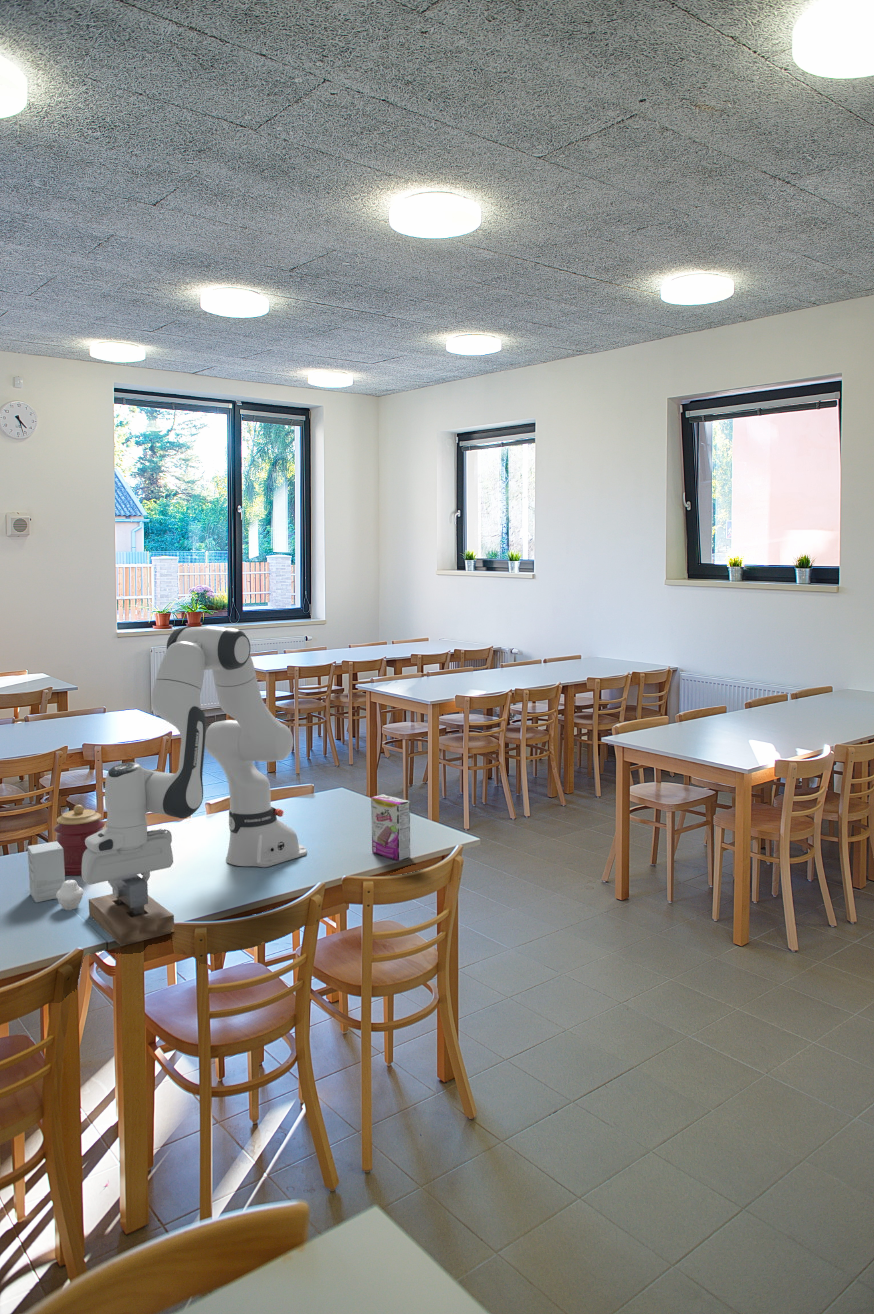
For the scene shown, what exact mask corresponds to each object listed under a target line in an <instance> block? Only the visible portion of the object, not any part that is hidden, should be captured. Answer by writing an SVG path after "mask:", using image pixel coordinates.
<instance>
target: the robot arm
mask: <svg viewBox="0 0 874 1314" xmlns="http://www.w3.org/2000/svg"><path fill="white" fill-rule="evenodd" d="M158 667H159V668H158V670H157V673H156V677H155V680H154V684H153V688H152V692H151V705H152V707H153V710H154V711H155V712H156V714H158V716H159V717H161V719H162V720H164V721H166V722H167V723H169V724H170V725H172V726H173V727H175V729H177V731H178V733H179V736H180V749H179V761H178V769H177V771H176V772H175V773H174V772H173V773H172V772H171V773H170V772H163V771H157V770H151V769H149V768H148V769H147V768H144V767H142V765H141V764H139V763H138V762H124V763H119V764H116V765H114V766H112V767H111V768H110V769H108V771H107V774H106V777H105V783H104V806H105V809H106V813H107V815H106V816H107V817H106V821H105V827H103V830H101V831H99V832H97V833H95V834H93V835H91V836H89V837H87V838H86V839H85V845H86V846H87V848H88V849H86V850H85V852H84V854H83V857H82V875H81V878H82V881H84V882H85V883H86V884H87V885H96V884H99V883H104V882H107V883H108V884H109V885H110V887H111V888H113V890H114V897H116V898H117V897H121V896H122V889H121V888H120V887H118V888H117V887H116V885H115V884H116V883H117V879H119V878H123V877H128V876H132V875H141V876H142V877H141V878H142V879H143V880H145V881H146V882H147V883H148V881H149V879H150V876H151V873H152V872H155V871H159V870H164V869H169V868H171V867H172V865H173V864H174V854H173V850H172V845H171V844H172V841H173V837H172V832H171V831H170V830H168V829H166V828H159V829H153V830H152V829H151V830H148V821H147V820H148V819H147V816H146V814H147V813H151V814H152V813H153V814H158V815H167V816H169V817H173V818H177V819H182V820H184V819H188V818H190V817H191V816H192V815H193V814H194V813H196V812H197V811H198V810H199V808H200V807H201V805H202V803H203V799H204V785H203V783H204V782H203V771H204V770H203V769H204V758H205V749H206V751H207V753H209V755H211V756H212V757H213V758H214V759H215V761H216V762H217V763H218V764H219V765H220V767H221V768H222V770H223V772H224V775H225V777H226V780H227V784H228V794H229V805H230V807H229V808H230V809H229V810H228V826H229V843H228V844H229V845H228V849H227V854H226V858H225V862H227V863H228V864H229V865H233V866H239V867H259V868H260V867H261V868H268V867H271V866H275V865H278V864H282V863H285V862H287V861H291V860H294V859H297V858H300V857H303V856H306V855H307V853H308V851H307V849H306V847H305V846H304V845H302V844H300V843H299V839H298V835H297V834H296V833H297V832H296V831H295V830H294V829H293V828H292V827H290V826H288V825H287V824H285V823H284V822H283V821H281V820H279V819H278V818H277V817H279V818H280V817H283V815H284V813H285V812H284V810H283V809H280V808H275V807H273V806H272V805H271V802H272V801H271V783H270V780H269V778H268V777H267V776H266V775H265V774H263V773H262V772H261V771H259V770H258V769H257V768H256V767H257V766H255V764H254V762H260V763H261V762H263V763H271V762H278V761H284V760H286V759H287V758H288V757H289V756H290V754H291V752H292V750H293V747H294V736H293V733H292V731H291V729H290V728H289V726H287V725H285V724H283V723H282V722H280V721H279V720H278V719H277V718H276V717H275V715H273V713H272V712H271V711H270V710H269V708H268V707H267V705H266V703H265V702H264V699H263V697H262V694H261V692H260V687H259V683H258V678H257V673H256V669H255V665H254V661H253V659H252V655H251V643H250V640H249V638H248V636H247V635H246V633H245V632H244V631H242V630H240V629H237V628H233V627H228V628H226V627H222V626H221V627H220V626H213V625H207V626H181V627H178V628H176V629H174V630H173V631H172V633H171V634H170V635H169V636H168V639H167V642H166V651H165V653H164V656H163V658H162V660H161V662H160V665H159V666H158ZM209 670H210V671H212V677H213V681H214V685H215V689H216V691H215V692H216V695H217V699H218V705H219V707H220V709H221V710H222V711H223V712H224V713H225V714H226V715H228V716H230V717H231V718H233V719H226V720H220V721H216V722H213V723H212V722H211V724H210V725H209V726H208V727H207V720H206V714H205V712H204V711H203V710H202V708H201V701H200V700H201V693H202V687H203V683H204V677H205V671H209ZM113 890H112V891H113Z"/></svg>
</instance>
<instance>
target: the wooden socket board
mask: <svg viewBox="0 0 874 1314" xmlns="http://www.w3.org/2000/svg"><path fill="white" fill-rule="evenodd" d="M144 911H145V914H144V915H140V916H136V917H132V918H131V917H130V907H129V906H128V905H126V904H124V905H119V906H117V898H116V897H114V894H113V893H110V894H106V895H101V896H98V897H93V898H88V913H89V917H90V918H91V919H92V920H93V919H94V920H93V921H94V922H95V921H96V923H97V924H98V926H100V927H101V928H102V929H103V931H105V933H107V934H108V935H109V937H110V938H112V939H113V940H114V941H115V942H116V943H117V944H119V945H120V946H121V947H122V946H126V945H130V944H134V943H137V942H142V941H146V940H150V939H153V938H158V937H162V936H166V935H168V934H172V933H171V930H172V927H173V925H174V926H175V915H174V914H173V913H172V912H170V910H168V909H166V907H164V906H163V905H161V904H160V903H159V902H157V901H156V900H155V899H154V898H152V896H150V895H149V894H148V904H146V905H144Z"/></svg>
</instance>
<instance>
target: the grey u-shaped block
mask: <svg viewBox="0 0 874 1314" xmlns="http://www.w3.org/2000/svg"><path fill="white" fill-rule="evenodd" d="M115 885H116V887H117V888H118V887H120V888H121V889H122V896H121V897H117V906H119V905H124V904H126V905H128V906H129V907H130V917H131V918H132V917H136V916H140V915H144V914H145V911H144V905H146V904H148V895H149V892H148V890H149V889H148V881H147V882H146V881H145V880H143V879H142V877H141V876H139V874H137V875H132V876H128V877H123V878H119V879H117V883H116V884H115ZM111 888H112V887H111ZM112 894H114V890H113V888H112Z"/></svg>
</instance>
